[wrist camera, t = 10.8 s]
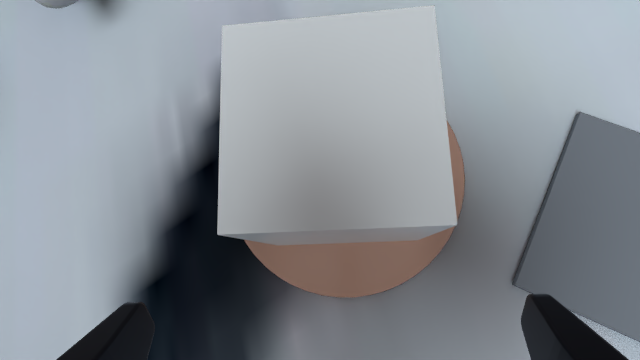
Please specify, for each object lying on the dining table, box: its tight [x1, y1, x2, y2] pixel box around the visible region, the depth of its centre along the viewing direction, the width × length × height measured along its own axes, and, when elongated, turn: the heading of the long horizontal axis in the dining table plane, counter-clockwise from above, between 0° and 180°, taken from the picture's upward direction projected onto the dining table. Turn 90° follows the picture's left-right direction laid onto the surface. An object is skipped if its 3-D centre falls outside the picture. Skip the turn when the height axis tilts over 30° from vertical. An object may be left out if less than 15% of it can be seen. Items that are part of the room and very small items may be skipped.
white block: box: [217, 5, 457, 246], centre depth 17 cm, size 7×7×9 cm
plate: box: [245, 121, 465, 297], centre depth 22 cm, size 13×13×1 cm
